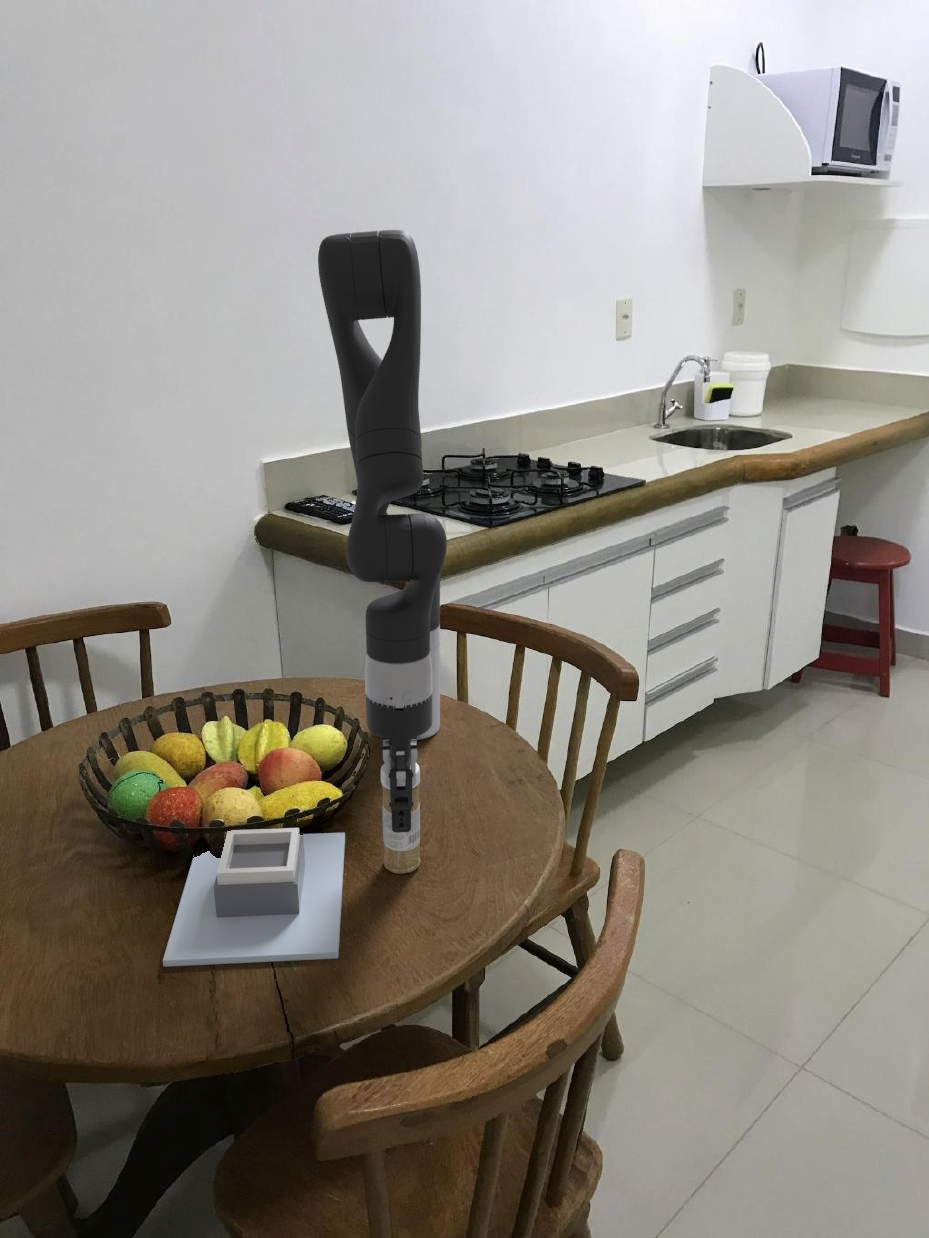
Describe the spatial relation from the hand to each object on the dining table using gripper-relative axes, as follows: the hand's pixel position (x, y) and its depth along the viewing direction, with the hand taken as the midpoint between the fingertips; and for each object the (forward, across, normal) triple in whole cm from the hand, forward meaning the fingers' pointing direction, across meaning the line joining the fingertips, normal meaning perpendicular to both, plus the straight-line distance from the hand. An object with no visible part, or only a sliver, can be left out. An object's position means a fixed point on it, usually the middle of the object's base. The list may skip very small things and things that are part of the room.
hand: (401, 818), depth 116 cm
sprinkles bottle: (+7, 0, 0) cm, 7 cm away
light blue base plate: (+6, +5, -16) cm, 18 cm away
